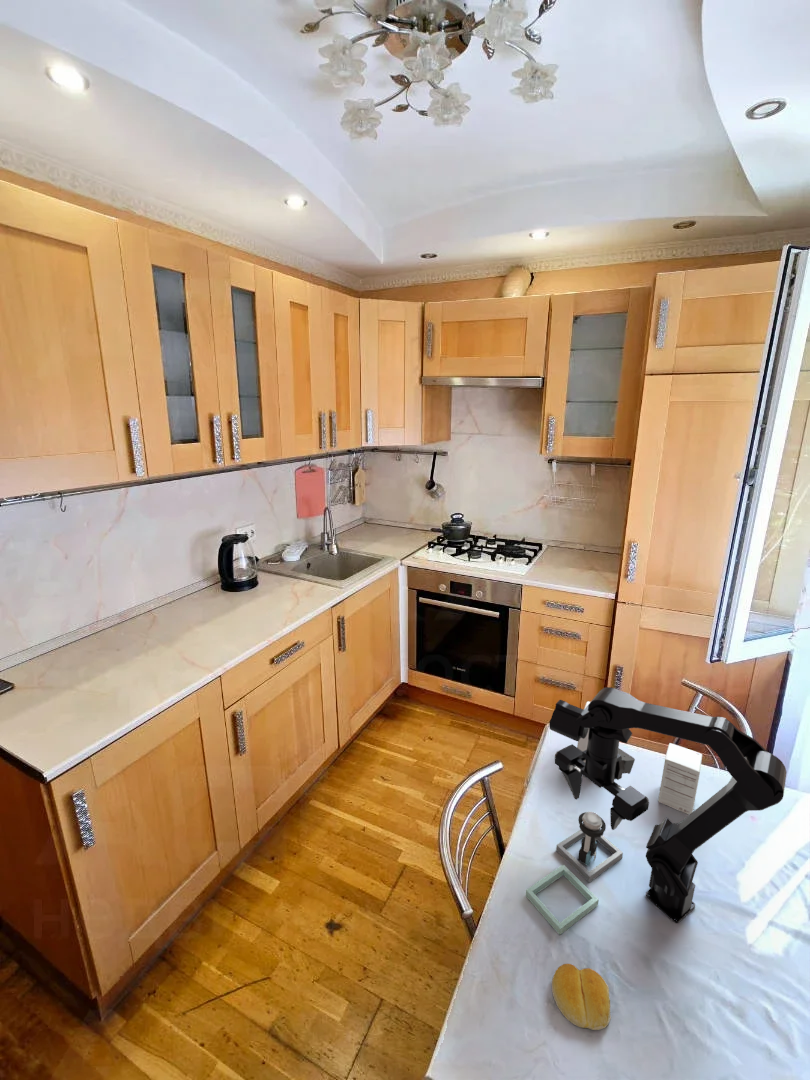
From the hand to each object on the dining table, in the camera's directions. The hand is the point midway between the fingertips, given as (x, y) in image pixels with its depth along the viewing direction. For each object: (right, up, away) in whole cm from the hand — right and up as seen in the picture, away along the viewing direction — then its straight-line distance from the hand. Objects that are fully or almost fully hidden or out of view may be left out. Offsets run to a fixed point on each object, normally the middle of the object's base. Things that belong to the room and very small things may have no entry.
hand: (594, 813), depth 101 cm
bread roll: (-11, -18, -23) cm, 31 cm away
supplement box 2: (+27, -7, +18) cm, 33 cm away
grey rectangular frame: (0, -10, +3) cm, 11 cm away
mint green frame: (-9, -13, -7) cm, 17 cm away
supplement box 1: (+12, -3, +30) cm, 33 cm away
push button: (0, -11, +3) cm, 11 cm away
